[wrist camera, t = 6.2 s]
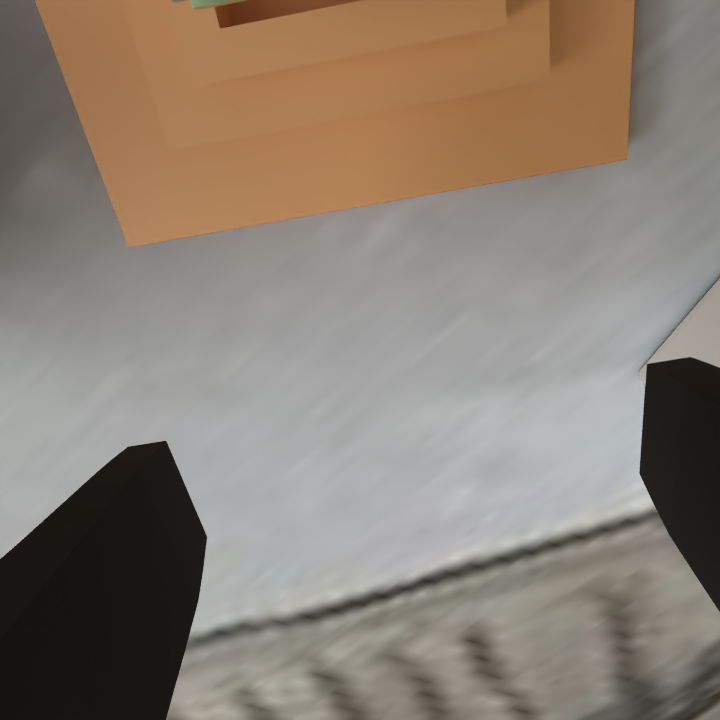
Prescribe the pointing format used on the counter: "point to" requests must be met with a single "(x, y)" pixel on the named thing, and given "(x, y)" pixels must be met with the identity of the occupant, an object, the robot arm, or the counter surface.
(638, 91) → the counter surface
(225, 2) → the grey grooved block
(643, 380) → the milk carton
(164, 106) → the orange stepped square base
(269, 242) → the counter surface
